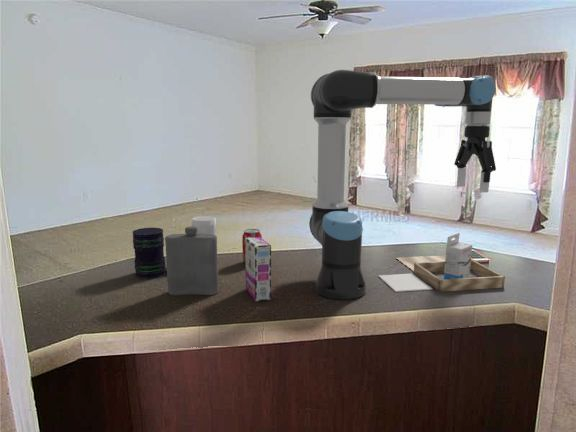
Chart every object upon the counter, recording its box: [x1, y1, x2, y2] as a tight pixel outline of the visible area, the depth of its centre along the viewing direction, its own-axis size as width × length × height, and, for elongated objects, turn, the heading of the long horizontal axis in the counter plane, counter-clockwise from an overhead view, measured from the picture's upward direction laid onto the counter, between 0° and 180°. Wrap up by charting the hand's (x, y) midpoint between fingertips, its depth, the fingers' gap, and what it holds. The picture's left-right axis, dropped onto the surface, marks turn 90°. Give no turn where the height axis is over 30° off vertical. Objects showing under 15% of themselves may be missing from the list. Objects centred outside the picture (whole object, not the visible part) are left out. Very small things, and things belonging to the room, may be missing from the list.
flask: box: [164, 225, 219, 296], centre depth 131 cm, size 15×6×20 cm, turn 91°
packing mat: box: [378, 272, 434, 293], centre depth 141 cm, size 12×14×1 cm
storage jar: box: [132, 227, 166, 280], centre depth 147 cm, size 10×10×15 cm
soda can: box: [241, 228, 263, 264], centre depth 160 cm, size 7×7×12 cm
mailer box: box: [395, 254, 506, 293], centre depth 151 cm, size 22×34×4 cm, turn 10°
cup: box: [191, 215, 219, 262], centre depth 162 cm, size 9×9×16 cm
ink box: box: [443, 232, 473, 279], centre depth 142 cm, size 8×5×15 cm, turn 134°
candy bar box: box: [245, 237, 272, 302], centre depth 129 cm, size 11×5×16 cm, turn 21°
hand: (471, 189), depth 149 cm, fingers open, 13 cm apart
